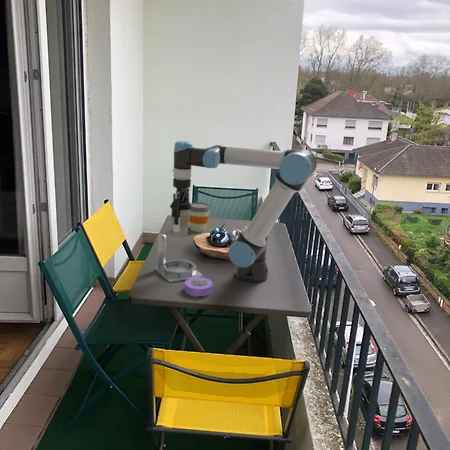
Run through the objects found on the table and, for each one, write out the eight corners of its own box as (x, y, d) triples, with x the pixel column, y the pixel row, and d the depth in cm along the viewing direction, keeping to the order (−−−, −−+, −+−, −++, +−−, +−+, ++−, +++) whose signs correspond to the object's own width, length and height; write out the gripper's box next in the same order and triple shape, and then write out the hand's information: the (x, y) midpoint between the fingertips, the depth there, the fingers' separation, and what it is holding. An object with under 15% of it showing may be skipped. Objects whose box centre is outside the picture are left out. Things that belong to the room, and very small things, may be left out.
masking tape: (184, 296, 187) (184, 288, 185) (184, 284, 198) (185, 276, 197) (212, 297, 188) (213, 289, 186) (211, 285, 199) (212, 277, 198)
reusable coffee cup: (186, 231, 267) (187, 206, 262) (188, 225, 279) (189, 201, 274) (207, 233, 267) (209, 208, 262) (209, 227, 279) (210, 203, 274)
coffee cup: (185, 240, 198) (186, 206, 194) (165, 236, 201) (166, 203, 197) (193, 234, 207) (195, 202, 202) (174, 230, 210) (175, 199, 205)
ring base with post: (202, 276, 206) (204, 241, 201) (169, 282, 198) (170, 245, 193) (186, 264, 219) (188, 230, 214) (155, 269, 211) (156, 234, 207)
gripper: (182, 173, 207) (180, 221, 214) (164, 181, 187) (163, 234, 194) (198, 174, 205) (195, 223, 212) (181, 183, 186) (179, 236, 192)
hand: (180, 228), depth 203 cm, fingers closed on coffee cup, 8 cm apart
